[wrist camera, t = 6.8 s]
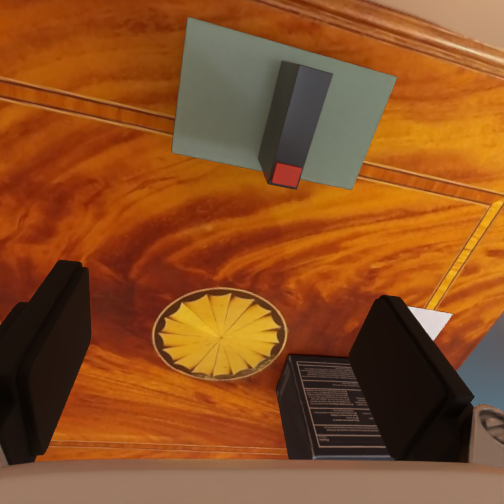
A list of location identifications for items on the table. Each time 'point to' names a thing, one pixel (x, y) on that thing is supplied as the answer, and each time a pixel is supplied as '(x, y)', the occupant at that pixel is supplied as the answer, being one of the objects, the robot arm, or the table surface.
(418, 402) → the robot arm
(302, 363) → the small box
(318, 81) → the knob
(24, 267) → the table surface
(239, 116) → the panel
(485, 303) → the table surface
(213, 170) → the table surface
